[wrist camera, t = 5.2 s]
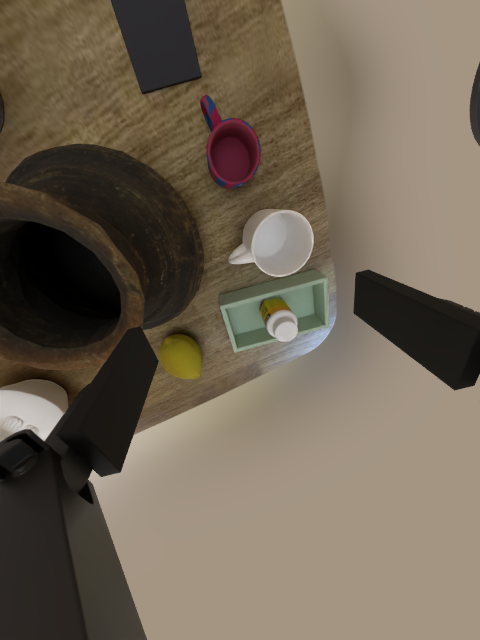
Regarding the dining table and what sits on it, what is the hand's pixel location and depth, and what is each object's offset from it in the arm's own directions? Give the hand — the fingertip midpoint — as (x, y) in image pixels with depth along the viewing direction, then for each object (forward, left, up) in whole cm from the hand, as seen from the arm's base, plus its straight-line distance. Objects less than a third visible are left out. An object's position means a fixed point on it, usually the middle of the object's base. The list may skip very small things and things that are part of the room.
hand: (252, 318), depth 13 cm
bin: (-6, +14, -29) cm, 32 cm away
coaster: (+2, -25, -29) cm, 38 cm away
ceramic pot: (+16, -4, -29) cm, 33 cm away
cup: (-3, -13, -29) cm, 32 cm away
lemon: (+15, +18, -29) cm, 37 cm away
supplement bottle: (-6, +14, -28) cm, 32 cm away
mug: (-6, +1, -29) cm, 29 cm away
